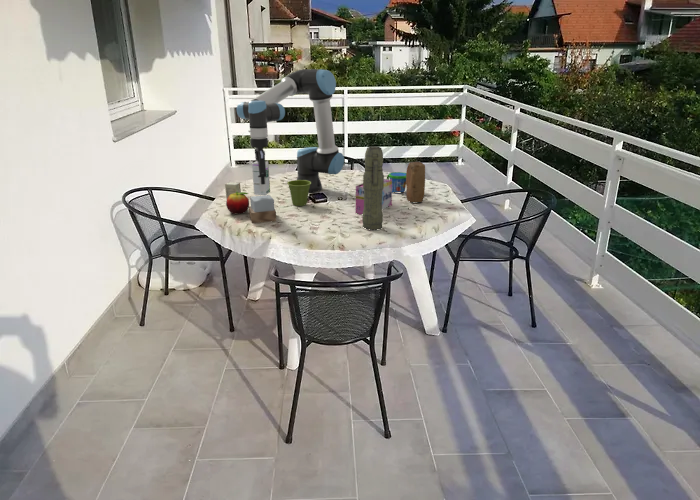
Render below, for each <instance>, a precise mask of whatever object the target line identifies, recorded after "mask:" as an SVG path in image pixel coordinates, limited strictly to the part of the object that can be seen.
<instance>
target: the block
mask: <svg viewBox="0 0 700 500" xmlns="http://www.w3.org/2000/svg"><path fill="white" fill-rule="evenodd" d="M405 173H406V189H405V194H406V199H407V201H408V202H409V201H410V202H409V203H411V202H421V203H423V202H422V201H424V198H425V190H426V188H425V187H426V165H425V164H424V163H423V162H421V161H412V162H409V163H408V165H407V168H406V172H405Z"/></svg>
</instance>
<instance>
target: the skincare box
mask: <svg viewBox="0 0 700 500" xmlns="http://www.w3.org/2000/svg"><path fill="white" fill-rule="evenodd" d="M224 189H225V197H226V199H225V200H227V199H228V197H229V195H230V194H234V193H236V192H238V193H241V192H242V190H241V183H240V182H230V181H229V182H227V183H224Z"/></svg>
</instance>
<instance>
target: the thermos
mask: <svg viewBox="0 0 700 500" xmlns="http://www.w3.org/2000/svg"><path fill="white" fill-rule="evenodd" d="M383 165H384V152H383V149H382V147H380V146H377V145H375V146H374V145H371V146H368V147H366V151H365V153H364V166H365V167H364V173H363V177H362V184H363V189H364V210H363V215H362V218H361V219H362V220H361V222H362V228H363V227H364V228H366V229H370V230H369V231H378V230H377V229H380V230H382V229H383V223H384V212H383V210H382V190H383V188H384V179H385V174H384V171H383V170H384V169H383ZM364 228H363V229H364ZM381 228H382V229H381ZM366 229H365V230H366Z"/></svg>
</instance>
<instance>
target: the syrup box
mask: <svg viewBox="0 0 700 500" xmlns="http://www.w3.org/2000/svg"><path fill="white" fill-rule="evenodd" d="M265 167H266V191H261V192H260V183H259V177H258V176H259V175H260V174H259V165H258V162H257V161H256V160H255V161H254V162H252V163H251V169H252V184H253V194H254V195H255V196H264V195H269V194H270V193H271V183H270V181H271V180H270V169H269V161H268V160H265ZM262 174H264V173H262Z"/></svg>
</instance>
